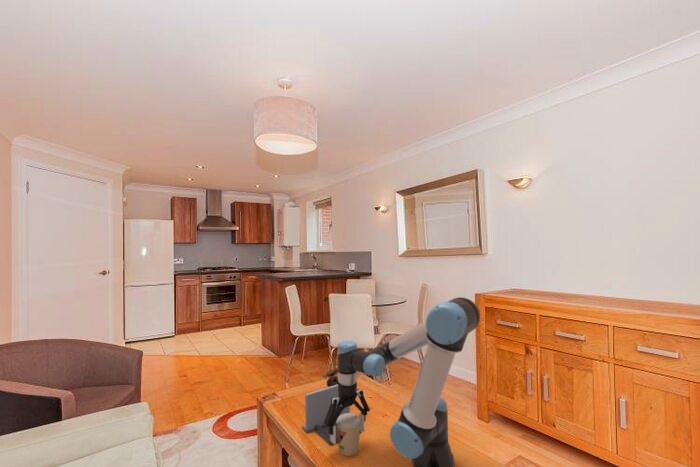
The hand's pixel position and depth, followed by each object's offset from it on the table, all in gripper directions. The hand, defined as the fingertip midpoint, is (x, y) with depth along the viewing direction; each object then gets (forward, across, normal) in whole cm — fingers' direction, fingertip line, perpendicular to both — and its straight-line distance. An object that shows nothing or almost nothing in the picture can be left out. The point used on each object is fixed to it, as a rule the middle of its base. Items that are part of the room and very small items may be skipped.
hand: (347, 436), depth 132 cm
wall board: (+6, -3, -22) cm, 23 cm away
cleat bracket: (+5, -3, -14) cm, 15 cm away
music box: (+6, -14, -31) cm, 34 cm away
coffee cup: (+5, 0, 0) cm, 5 cm away
